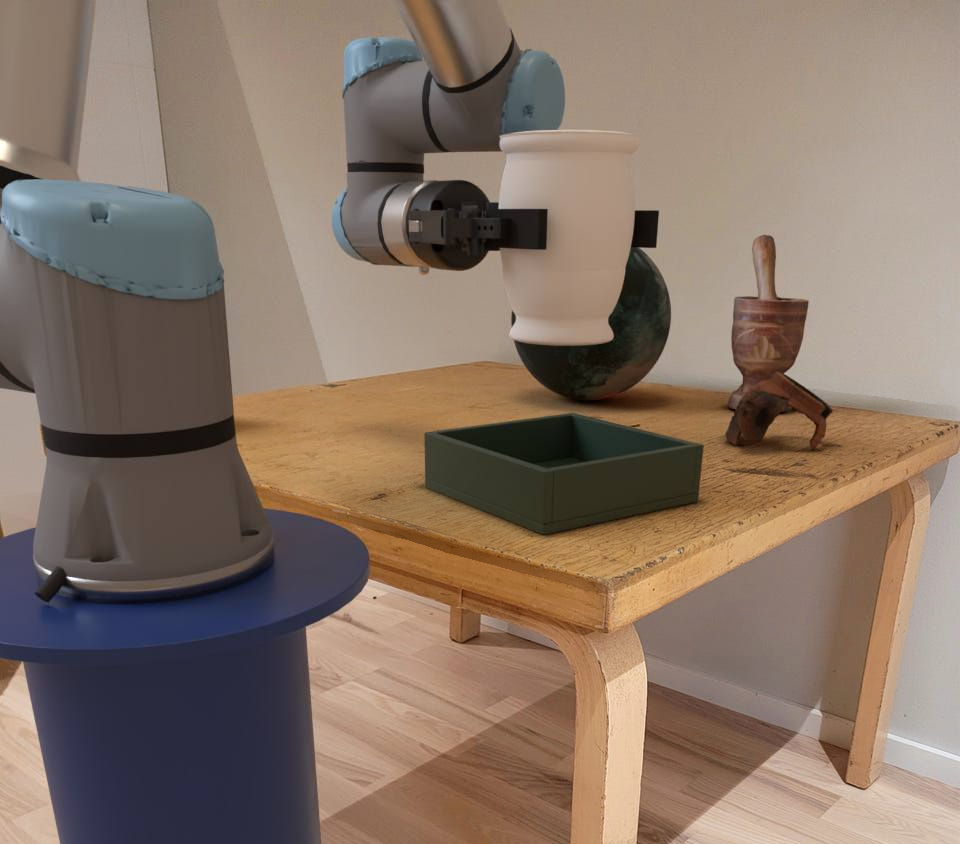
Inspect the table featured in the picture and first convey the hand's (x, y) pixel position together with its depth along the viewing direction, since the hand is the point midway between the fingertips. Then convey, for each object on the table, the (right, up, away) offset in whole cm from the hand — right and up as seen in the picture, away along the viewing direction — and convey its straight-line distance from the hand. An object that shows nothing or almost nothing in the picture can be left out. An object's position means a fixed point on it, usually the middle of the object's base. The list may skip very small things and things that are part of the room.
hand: (601, 229), depth 72 cm
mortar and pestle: (+25, -2, +49) cm, 55 cm away
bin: (-2, -18, +10) cm, 21 cm away
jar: (-3, -7, +7) cm, 10 cm away
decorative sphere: (+5, 0, +53) cm, 53 cm away
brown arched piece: (+21, -11, +29) cm, 37 cm away
